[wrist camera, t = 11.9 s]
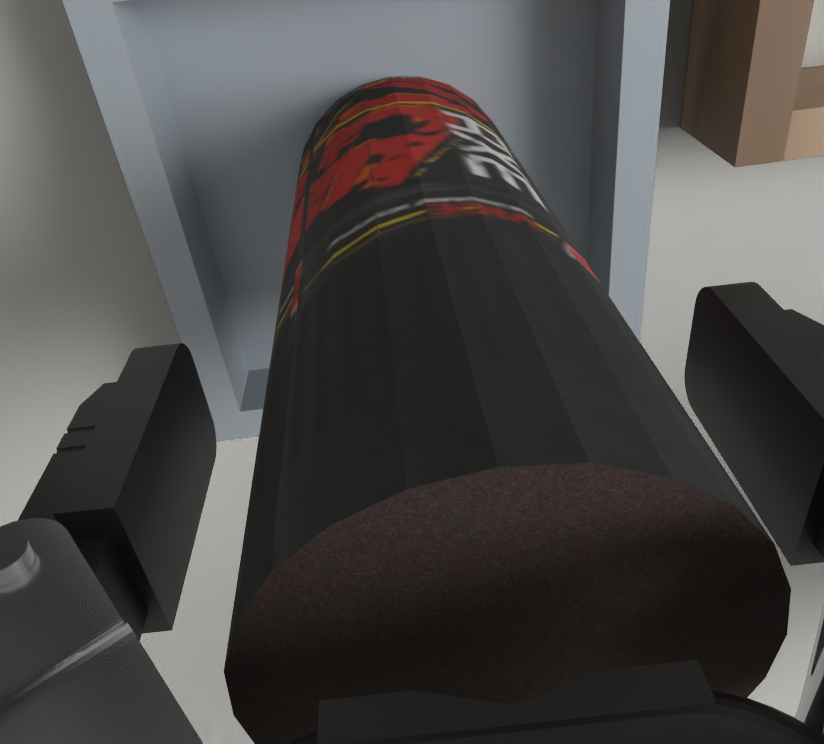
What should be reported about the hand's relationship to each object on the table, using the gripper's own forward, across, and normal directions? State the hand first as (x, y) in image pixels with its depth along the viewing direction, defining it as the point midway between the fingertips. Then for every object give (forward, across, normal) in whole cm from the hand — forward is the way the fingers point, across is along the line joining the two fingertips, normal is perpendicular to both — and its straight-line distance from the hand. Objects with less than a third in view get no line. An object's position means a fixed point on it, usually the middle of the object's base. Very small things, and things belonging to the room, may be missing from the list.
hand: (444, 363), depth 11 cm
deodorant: (+10, 0, +1) cm, 10 cm away
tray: (+11, 0, +1) cm, 11 cm away
